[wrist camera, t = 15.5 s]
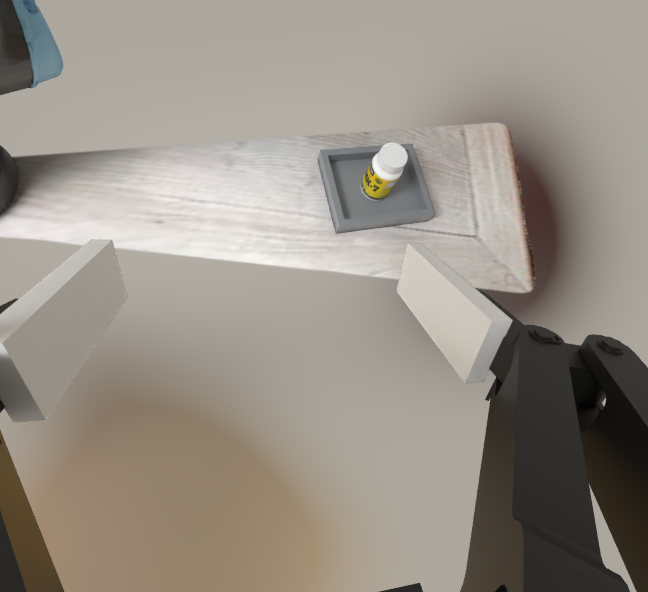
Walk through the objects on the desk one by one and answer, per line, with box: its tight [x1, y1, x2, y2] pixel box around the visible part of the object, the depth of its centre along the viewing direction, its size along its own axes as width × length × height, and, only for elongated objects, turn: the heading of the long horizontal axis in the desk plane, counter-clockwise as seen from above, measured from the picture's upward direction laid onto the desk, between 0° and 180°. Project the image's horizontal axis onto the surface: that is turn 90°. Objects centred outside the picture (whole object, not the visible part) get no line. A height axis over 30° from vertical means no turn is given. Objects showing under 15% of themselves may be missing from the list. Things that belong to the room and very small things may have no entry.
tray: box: [318, 144, 435, 233], centre depth 51 cm, size 16×13×2 cm
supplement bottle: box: [361, 142, 408, 201], centre depth 47 cm, size 5×5×8 cm
